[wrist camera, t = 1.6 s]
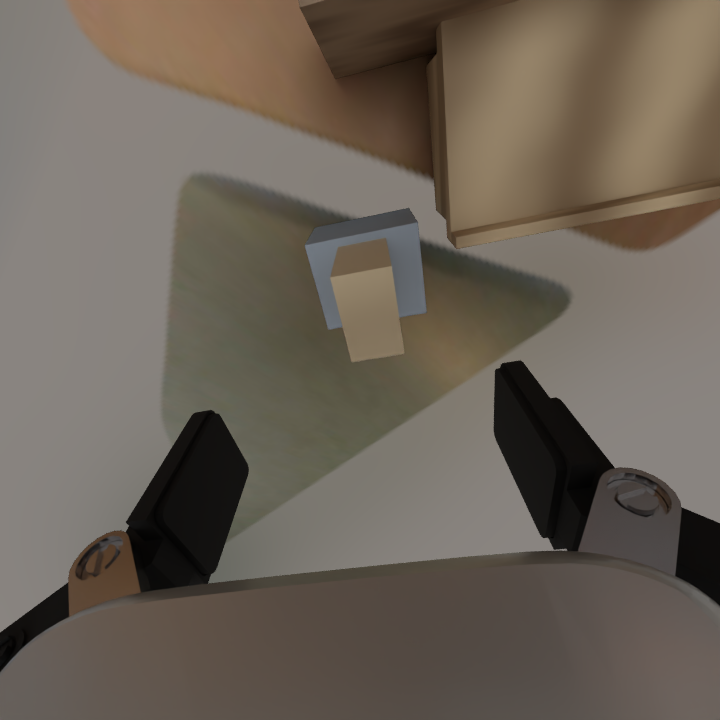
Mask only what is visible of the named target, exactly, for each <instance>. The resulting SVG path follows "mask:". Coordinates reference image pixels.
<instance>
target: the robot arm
mask: <svg viewBox="0 0 720 720" xmlns="http://www.w3.org/2000/svg"><path fill="white" fill-rule="evenodd" d="M494 395H495V397H494V435H495V438H496V441H497V443H498V445H499V447H500V449H501V452H502V454H503V456H504V458H505V460H506V462H507V464H508V466H509V469H510V471H511V473H512V475H513V478H514V480H515V482H516V484H517V486H518V488H519V490H520V493H521V495H522V497H523V499H524V501H525V503H526V505H527V508H528V510H529V512H530V514H531V516H532V518H533V521H534V523H535V525H536V527H537V529H538V531H539V533H540V535H541V536H542V537H543V538H549V540H550V542H551V544H552V546H553V549H554V550H556V549H567V551H538V552H537V551H535V552H519V553H507V554H494V555H483V556H470V557H459V558H450V559H439V560H430V561H418V562H408V563H398V564H388V565H378V566H368V567H359V568H349V569H340V570H330V571H321V572H311V573H301V574H291V575H282V576H273V577H264V578H255V579H246V580H236V581H227V582H218V583H209V584H208V581H209V578H210V576H211V574H212V573H214V572H215V570H216V568H217V566H218V562H219V560H220V557H221V554H222V551H223V548H224V545H225V542H226V539H227V536H228V533H229V530H230V527H231V524H232V521H233V518H234V515H235V512H236V509H237V506H238V503H239V500H240V497H241V494H242V491H243V488H244V485H245V482H246V479H247V476H248V472H249V468H248V464H247V462H246V460H245V459H244V457H243V455H242V453H241V452H240V450H239V448H238V446H237V445H236V443H235V441H234V439H233V437H232V436H231V434H230V432H229V430H228V429H227V427H226V425H225V423H224V421H223V420H222V418H221V416H220V415H219V414H216V413H215V412H214V411H212V410H209V411H202V412H196V413H194V414H193V415H192V416H191V418H190V419H189V421H188V422H187V424H186V426H185V427H184V429H183V431H182V432H181V434H180V435H179V437H178V439H177V440H176V442H175V443H174V445H173V447H172V448H171V450H170V452H169V453H168V455H167V456H166V458H165V460H164V461H163V463H162V465H161V466H160V468H159V469H158V471H157V473H156V474H155V476H154V478H153V479H152V481H151V482H150V484H149V486H148V487H147V489H146V491H145V492H144V494H143V496H142V497H141V499H140V500H139V502H138V503H137V505H136V507H135V508H134V510H133V512H132V513H131V515H130V516H129V518H128V520H127V521H126V523H127V524H128V525H129V527H128V529H127V531H126V532H124V531H121V530H120V531H112V532H109V533H106V534H104V535H102V536H101V537H99V538H97V539H96V540H95V541H93V542H92V543H91V544H89V545H88V546H87V547H86V548H85V549H84V550H83V551H82V552H81V553H80V554H79V556H78V557H77V558H76V560H75V561H74V563H73V565H72V567H71V569H70V571H69V577H68V583H67V584H66V585H64V586H63V587H62V588H60V589H59V590H57V591H56V592H55V593H53V594H52V595H51V596H49V597H48V598H46V599H45V600H44V601H42V602H41V603H40V604H38V605H37V606H36V607H34V608H33V609H32V610H30V611H29V612H27V613H26V614H25V615H23V616H22V617H21V618H19V619H18V620H17V621H15V622H14V623H13V624H11V625H10V626H8V627H7V628H6V629H4V630H3V631H2V632H0V720H720V523H718V522H715V521H713V520H711V519H708V518H706V517H703V516H701V515H698V514H696V513H694V512H691V511H689V510H687V509H684V508H682V507H681V503H680V500H679V499H678V497H677V495H676V493H675V492H674V491H673V490H672V489H671V488H670V487H669V486H668V485H667V484H666V483H665V482H663V481H662V480H660V479H658V478H657V477H655V476H653V475H651V474H649V473H646V472H644V471H641V470H637V469H633V468H614V466H613V465H612V464H611V463H610V461H609V460H608V459H607V457H606V456H605V455H604V454H603V453H602V451H601V450H600V449H599V447H598V446H597V445H596V444H595V442H594V441H593V440H592V439H591V437H590V436H589V435H588V434H587V432H586V431H585V430H584V428H583V427H582V426H581V425H580V423H579V422H578V421H577V420H576V418H575V417H574V416H573V415H572V413H571V412H570V411H569V410H568V408H567V407H566V406H565V404H564V403H563V402H562V401H561V400H560V399H558V398H550V397H549V396H548V395H547V394H546V392H545V391H544V390H543V388H542V387H541V385H540V384H539V383H538V381H537V380H536V379H535V378H534V376H533V375H532V374H531V372H530V371H529V370H528V368H527V367H526V366H525V364H524V363H523V362H522V361H514V362H507V363H502V364H501V367H500V368H499V369H496V370H495V394H494Z"/></svg>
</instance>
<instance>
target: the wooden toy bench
mask: <svg viewBox="0 0 720 720" xmlns="http://www.w3.org/2000/svg"><path fill="white" fill-rule="evenodd" d="M298 1H299V6H300V9H301V11H302V13H303V15H304V17H305V19H306V21H307V23H308V25H309V27H310V29H311V31H312V33H313V35H314V37H315V39H316V41H317V43H318V45H319V47H320V49H321V51H322V53H323V55H324V57H325V59H326V61H327V63H328V65H329V67H330V69H331V71H332V73H333V75H334V77H335V79H337V78H341V77H344V76H348V75H352V74H356V73H360V72H363V71H367V70H371V69H375V68H379V67H383V66H386V65H390V64H394V63H398V62H402V61H405V60H409V59H413V58H417V57H421V56H425V55H428V54H432V53H436V52H437V54H436V55H435V56H434V57H433V59H432V60H431V61H430V62H429V64H428V65H427V66H426V70H427V85H428V99H429V114H430V128H431V143H432V157H433V172H434V186H435V200H436V210H437V211H438V212H439V213H440V214H441V215H442V216H443V217H444V218H445V219H446V222H447V223H446V224H447V238H448V239H449V241H450V242H451V243H452V244H453V245H454V247H455V248H456V249H460V248H465V247H470V246H475V245H480V244H485V243H491V242H496V241H501V240H506V239H512V238H517V237H522V236H527V235H533V234H538V233H543V232H548V231H554V230H559V229H564V228H569V227H575V226H580V225H585V224H590V223H596V222H601V221H606V220H611V219H616V218H622V217H627V216H632V215H637V214H643V213H648V212H653V211H658V210H664V209H669V208H674V207H679V206H684V205H690V204H695V203H700V202H705V201H711V200H716V199H720V0H298Z"/></svg>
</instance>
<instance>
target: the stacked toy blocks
mask: <svg viewBox="0 0 720 720" xmlns="http://www.w3.org/2000/svg"><path fill="white" fill-rule="evenodd" d="M305 248H306V252H307V255H308V259H309V262H310V266H311V269H312V273H313V277H314V280H315V284H316V287H317V291H318V294H319V298H320V301H321V305H322V308H323V312H324V316H325V319H326V323H327V326H328V330H329V329H335V328H340V327H343V330H344V334H345V338H346V342H347V346H348V350H349V354H350V358H351V362H356V361H362V360H369V359H375V358H381V357H388V356H394V355H400V354H405V353H404V346H403V339H402V332H401V326H400V319H399V317H405V316H411V315H416V314H422V313H427V311H426V301H425V290H424V280H423V270H422V260H421V250H420V239H419V229H418V222H417V220H416V219H415V217H414V215H413V214H412V212H411V211H410V209H409V208H406V209H401V210H397V211H392V212H387V213H383V214H378V215H373V216H368V217H363V218H358V219H354V220H349V221H344V222H340V223H335V224H330V225H325V226H321V227H316V228H314V230H313V232H312V234H311V235H310V237H309V239H308V240H307V242H306V244H305Z"/></svg>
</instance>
